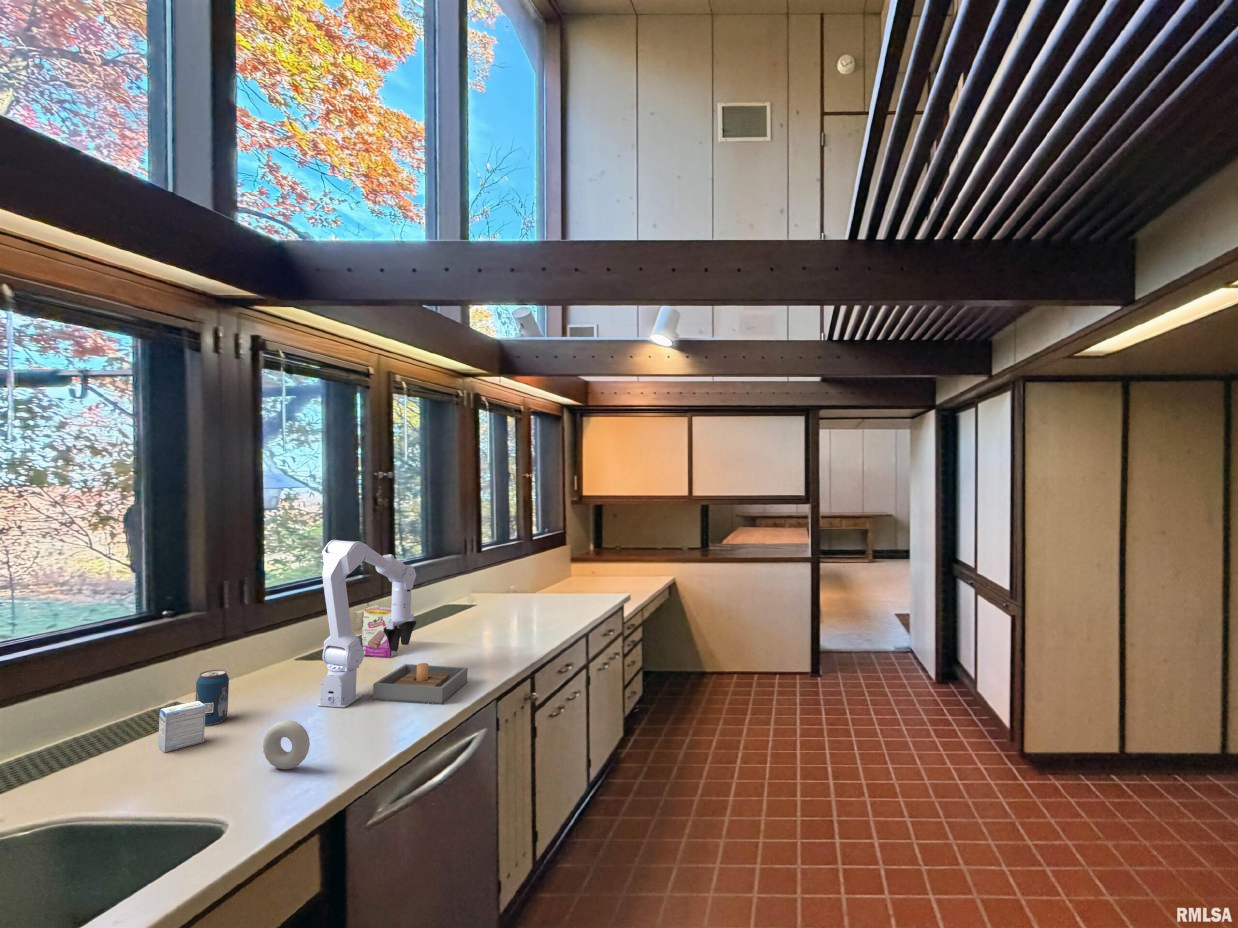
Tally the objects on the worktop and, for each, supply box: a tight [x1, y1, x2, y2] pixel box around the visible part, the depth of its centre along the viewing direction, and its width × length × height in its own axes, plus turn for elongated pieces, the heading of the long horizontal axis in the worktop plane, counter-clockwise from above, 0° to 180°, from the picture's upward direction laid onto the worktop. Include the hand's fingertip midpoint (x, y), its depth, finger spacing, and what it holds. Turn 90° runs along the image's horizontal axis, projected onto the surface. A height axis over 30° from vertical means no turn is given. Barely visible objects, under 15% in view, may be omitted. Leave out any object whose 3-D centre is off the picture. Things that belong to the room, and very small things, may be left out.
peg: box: [416, 662, 429, 681], centre depth 187 cm, size 3×3×7 cm
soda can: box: [194, 669, 230, 726], centre depth 160 cm, size 7×7×12 cm
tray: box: [372, 663, 469, 705], centre depth 187 cm, size 20×20×4 cm
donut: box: [262, 719, 311, 770], centre depth 135 cm, size 10×4×10 cm, turn 82°
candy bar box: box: [360, 606, 399, 659], centre depth 223 cm, size 11×5×16 cm, turn 84°
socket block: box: [394, 671, 450, 687], centre depth 187 cm, size 12×12×3 cm
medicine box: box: [157, 701, 206, 753], centre depth 146 cm, size 8×4×9 cm, turn 141°
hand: (399, 647), depth 199 cm, fingers open, 7 cm apart
